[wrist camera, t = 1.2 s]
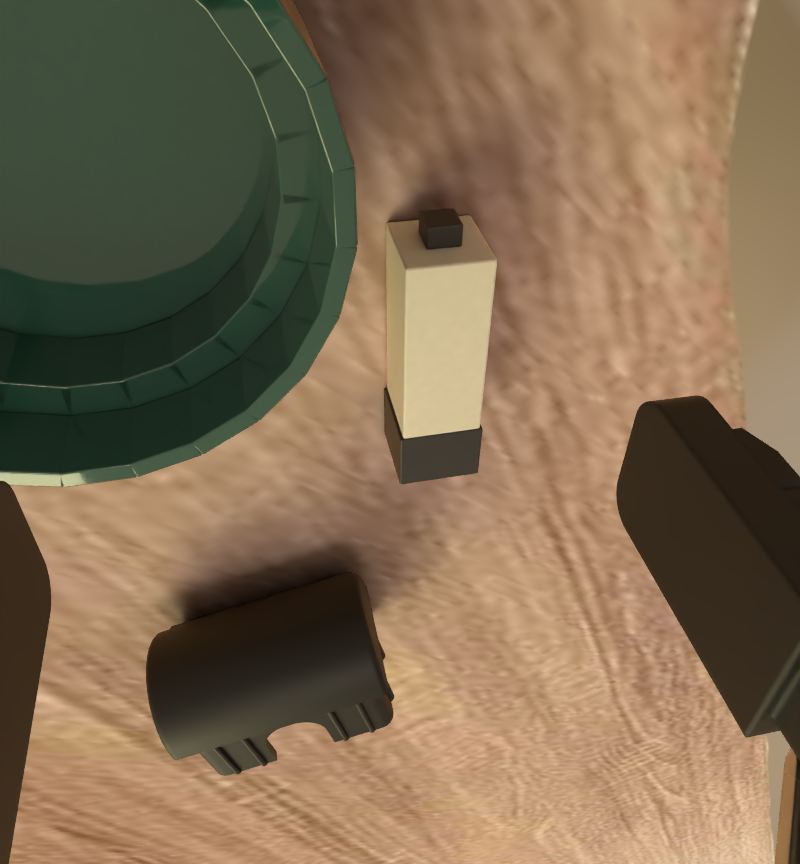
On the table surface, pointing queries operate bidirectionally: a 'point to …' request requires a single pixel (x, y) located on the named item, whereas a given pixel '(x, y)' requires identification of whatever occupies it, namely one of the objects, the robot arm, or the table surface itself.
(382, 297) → the table surface
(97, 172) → the bowl
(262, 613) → the end cap
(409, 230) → the marker
